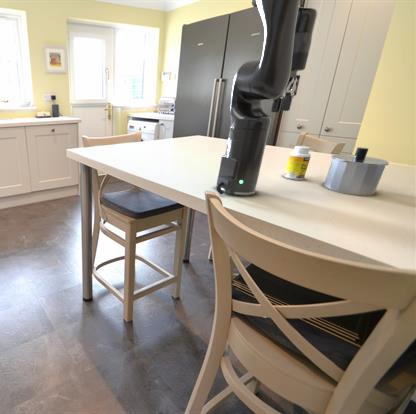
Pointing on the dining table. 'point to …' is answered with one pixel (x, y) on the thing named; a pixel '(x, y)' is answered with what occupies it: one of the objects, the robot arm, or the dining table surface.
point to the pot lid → (360, 158)
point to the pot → (353, 178)
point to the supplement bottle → (298, 163)
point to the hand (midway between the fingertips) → (280, 111)
